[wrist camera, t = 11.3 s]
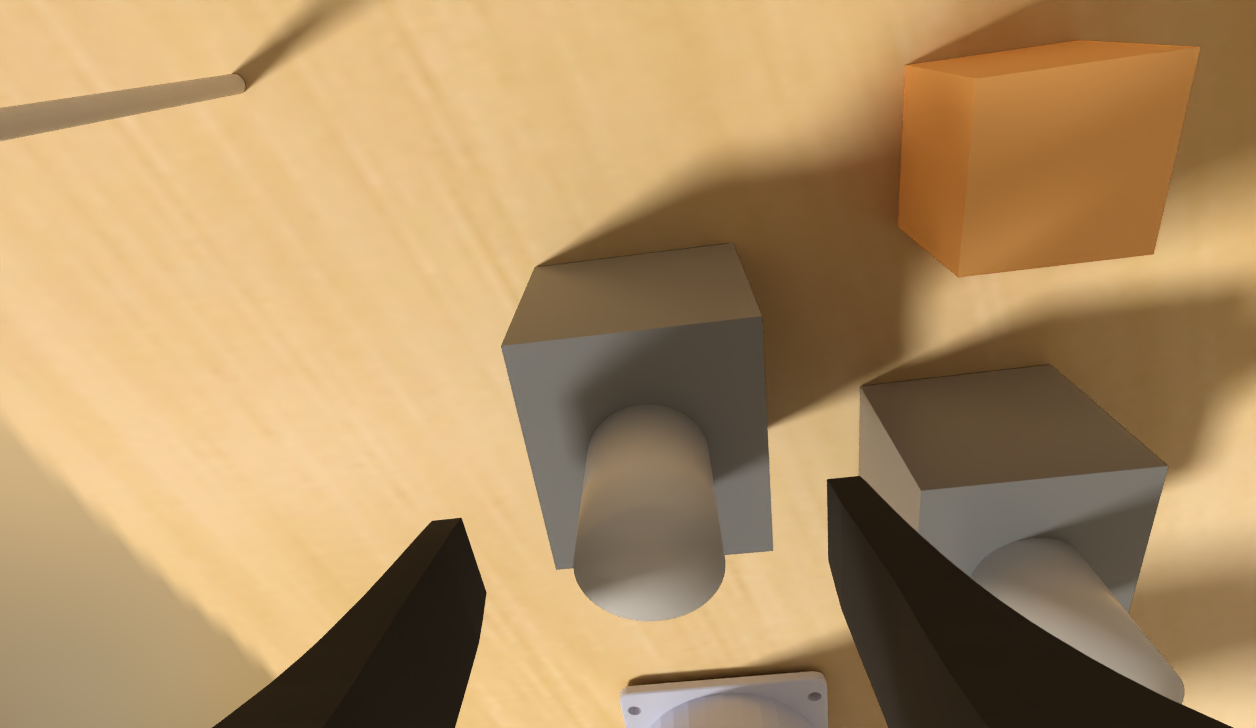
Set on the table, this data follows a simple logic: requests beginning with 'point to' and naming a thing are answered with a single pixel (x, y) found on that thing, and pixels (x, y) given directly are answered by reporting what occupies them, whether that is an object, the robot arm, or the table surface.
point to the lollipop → (112, 105)
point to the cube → (1041, 153)
